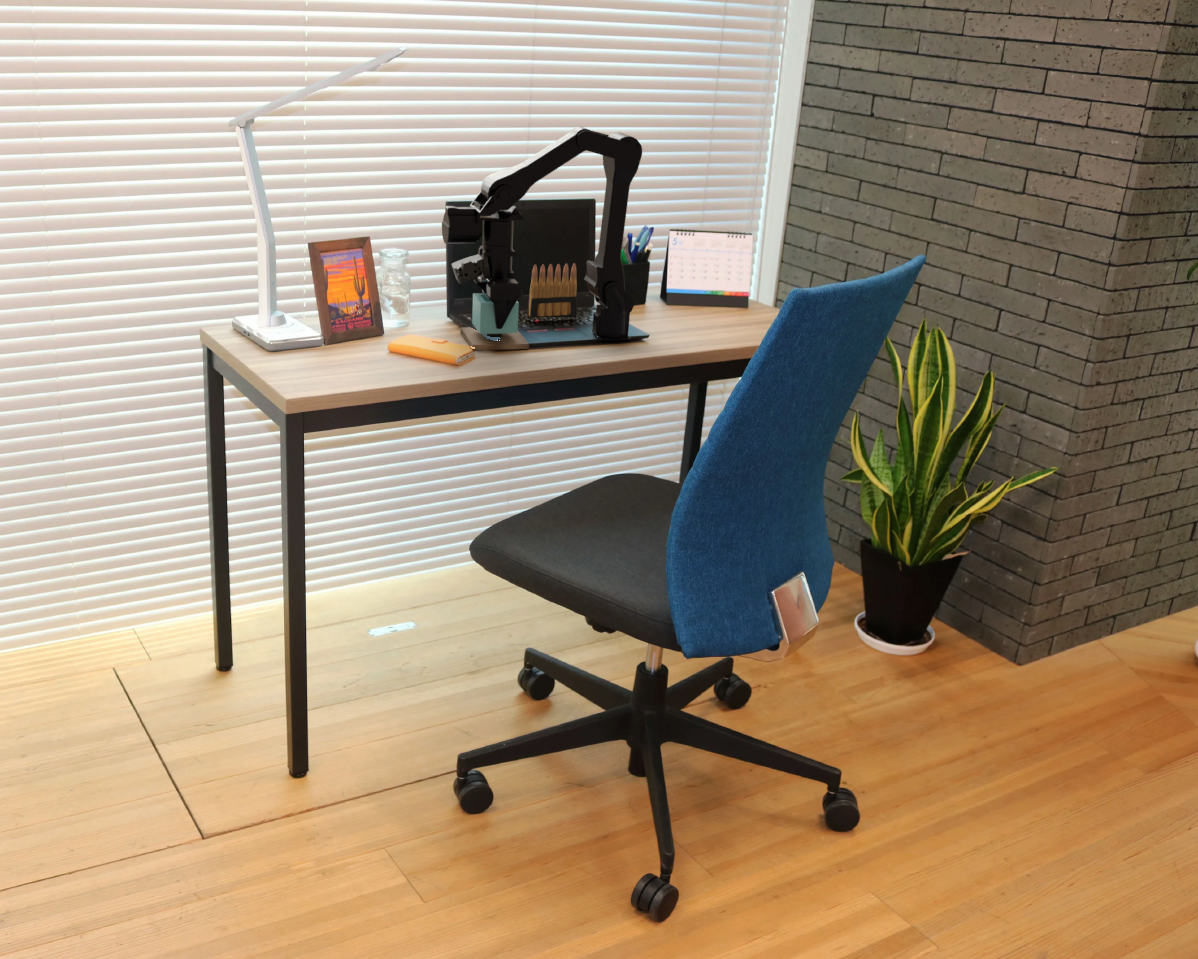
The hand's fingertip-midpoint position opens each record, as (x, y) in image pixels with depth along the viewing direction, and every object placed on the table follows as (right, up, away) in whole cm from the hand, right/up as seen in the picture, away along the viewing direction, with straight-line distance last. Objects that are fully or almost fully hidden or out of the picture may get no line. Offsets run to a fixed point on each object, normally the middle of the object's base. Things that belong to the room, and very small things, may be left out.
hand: (494, 323), depth 224 cm
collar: (0, -1, 0) cm, 1 cm away
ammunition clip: (+10, +3, +18) cm, 21 cm away
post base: (0, -3, +1) cm, 4 cm away
